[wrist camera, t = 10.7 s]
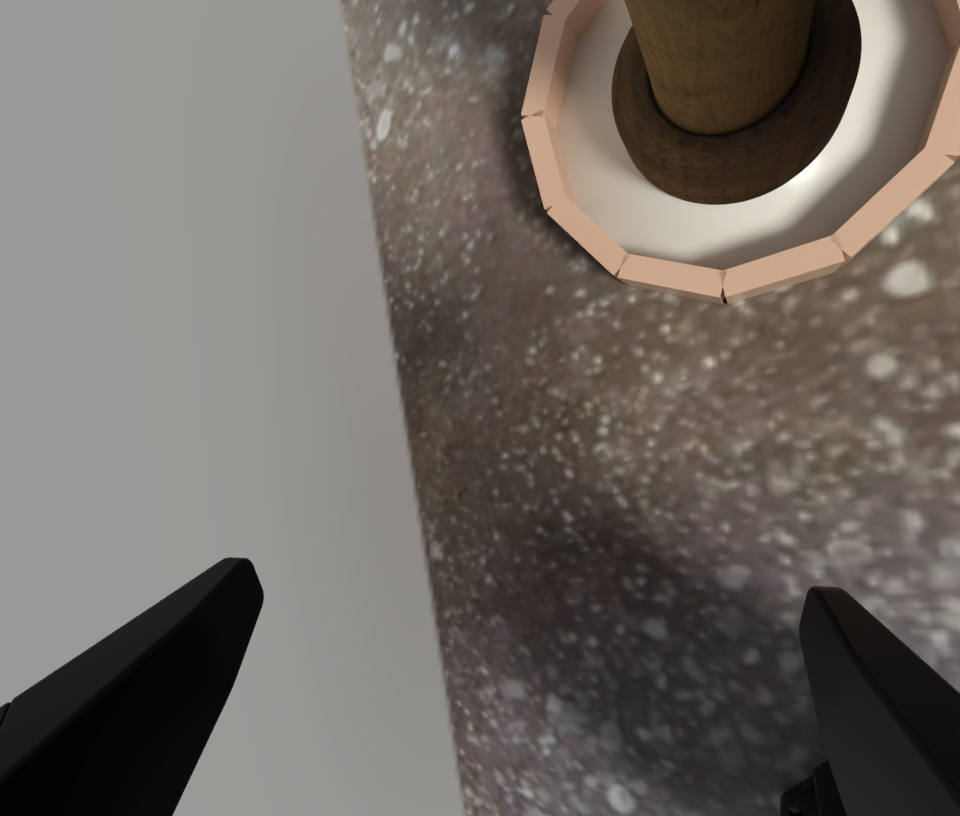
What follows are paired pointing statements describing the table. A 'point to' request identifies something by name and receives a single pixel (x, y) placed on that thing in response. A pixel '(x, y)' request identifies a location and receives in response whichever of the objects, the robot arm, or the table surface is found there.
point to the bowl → (766, 219)
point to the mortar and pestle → (732, 91)
